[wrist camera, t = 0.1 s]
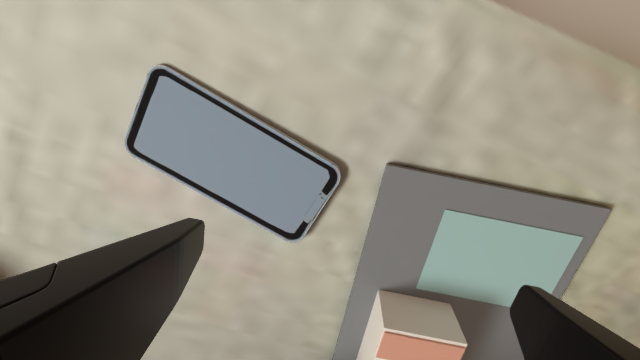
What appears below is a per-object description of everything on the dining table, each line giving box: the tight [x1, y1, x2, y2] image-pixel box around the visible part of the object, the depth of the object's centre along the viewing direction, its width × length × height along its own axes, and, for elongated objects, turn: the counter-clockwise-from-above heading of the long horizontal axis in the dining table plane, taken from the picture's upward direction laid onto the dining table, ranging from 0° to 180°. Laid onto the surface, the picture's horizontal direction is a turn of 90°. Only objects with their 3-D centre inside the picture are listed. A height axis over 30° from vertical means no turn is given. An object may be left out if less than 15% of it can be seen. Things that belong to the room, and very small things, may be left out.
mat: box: [332, 163, 611, 360], centre depth 26 cm, size 20×16×1 cm
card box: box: [356, 290, 468, 360], centre depth 26 cm, size 9×6×4 cm, turn 169°
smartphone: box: [124, 65, 341, 242], centre depth 24 cm, size 7×1×15 cm
